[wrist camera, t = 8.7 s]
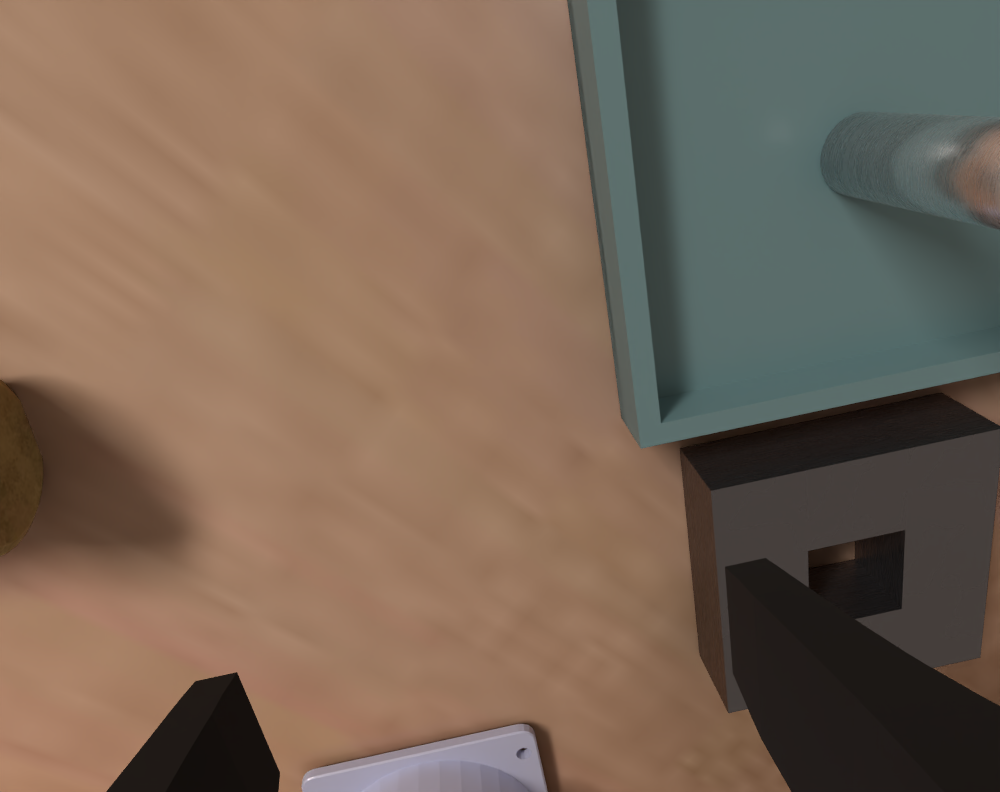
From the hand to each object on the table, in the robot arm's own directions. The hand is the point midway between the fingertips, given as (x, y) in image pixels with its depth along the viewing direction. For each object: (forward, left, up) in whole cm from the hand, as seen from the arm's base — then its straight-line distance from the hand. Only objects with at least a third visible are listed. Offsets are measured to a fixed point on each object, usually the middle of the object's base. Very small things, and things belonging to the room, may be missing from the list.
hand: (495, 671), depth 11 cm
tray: (+5, -11, -10) cm, 16 cm away
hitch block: (-7, -10, -10) cm, 16 cm away
